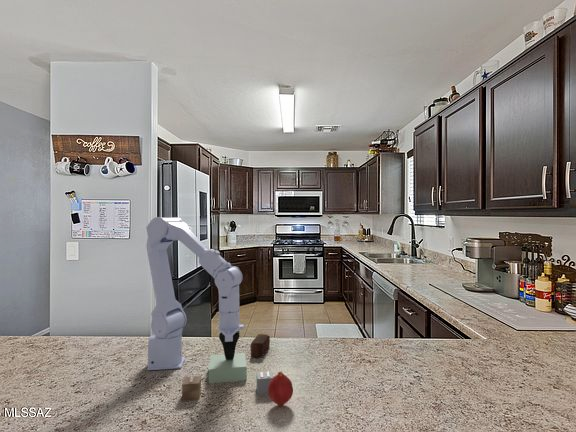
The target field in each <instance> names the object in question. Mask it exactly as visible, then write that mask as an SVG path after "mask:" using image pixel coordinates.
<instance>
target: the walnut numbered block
mask: <svg viewBox="0 0 576 432" xmlns="http://www.w3.org/2000/svg"><path fill="white" fill-rule="evenodd" d="M201 381H202V377H201V375H199V376H198V375H197V376H195V375H194V376H184V378H183V380H182V383H181V401H182V402H185V401H188V402H189V401H197V400H200V398H201V393H202V382H201Z"/></svg>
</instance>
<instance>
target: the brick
mask: <svg viewBox="0 0 576 432" xmlns="http://www.w3.org/2000/svg"><path fill="white" fill-rule="evenodd" d="M270 341H271V339H270V335H269V334H265V333H258V334H257V335H256V336H255V337H254V339H253V340H252V342H250V357H251V358H263V356H264V355H265V354H266V353H267V351H268V349H269V348H270Z"/></svg>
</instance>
